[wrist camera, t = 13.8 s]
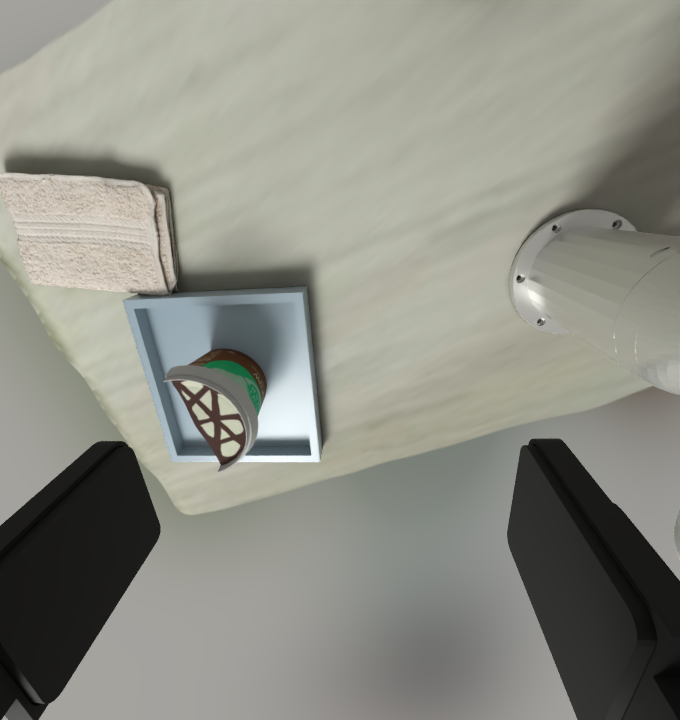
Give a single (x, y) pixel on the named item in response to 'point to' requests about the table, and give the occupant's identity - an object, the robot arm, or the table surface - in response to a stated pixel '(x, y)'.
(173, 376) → the food container
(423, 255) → the table surface
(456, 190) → the table surface
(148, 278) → the washcloth
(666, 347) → the robot arm
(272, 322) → the tray
